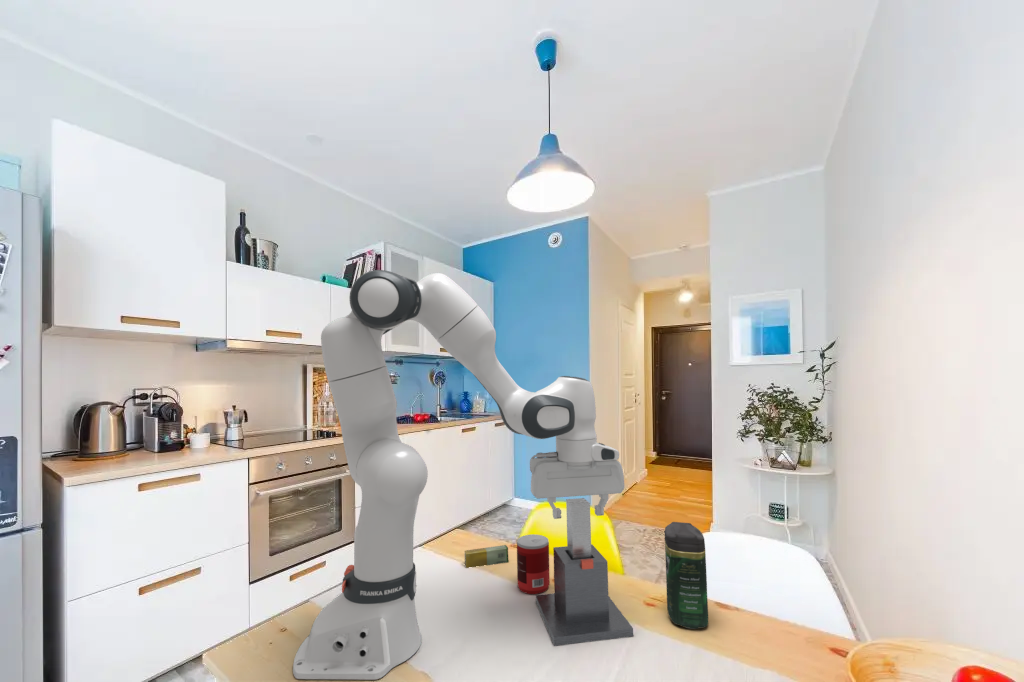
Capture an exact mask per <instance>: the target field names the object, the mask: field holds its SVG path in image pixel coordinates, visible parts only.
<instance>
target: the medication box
mask: <svg viewBox="0 0 1024 682" xmlns="http://www.w3.org/2000/svg"><path fill="white" fill-rule="evenodd" d="M509 562H510V561H509V547H508V545H506V544H503V545H495V546H489V547H482V548H473V549H466V550H464V564H465V565H464V567H465V566H466V567H465V568H466V569H470V568H469V567H472V568H477V567H476V566H479V567H485V566H484V565H486V566H493V564H494V565H500V564H507V563H509Z"/></svg>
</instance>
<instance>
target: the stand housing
mask: <svg viewBox="0 0 1024 682" xmlns="http://www.w3.org/2000/svg"><path fill="white" fill-rule="evenodd" d="M591 557H592V558H589V559H577V560H571V559H570V557H569V556H568V549H567V545H566V546H555V547H553V585H554V588H553V589H554V591H553V593H552V592H551V593H541V594H535V604H536V607H537V609H538V611H539V613H540V616H541V618H542V620H543V623H544V625H545V628H546V630H547V633H548V635H549V638H550V640H551V643H552V644H553V645H552V646H553V647H555V646H556V647H557V646H564V645H572V644H580V643H583V644H584V643H588V642H589V643H591V642H599V641H604V640H605V641H606V640H615V639H616V640H617V639H621V638H622V639H624V638H629V637H630V638H631V637H632V638H633V637H634V628H633V626H632V625H631V623H630V622H629V621H628V619H626V617H625V615H624V614H623V613H622V611H621V610H620V609H619V608H618V606H617V605H616V604H615V603H614V601H613V600H612V599H611V597H610V596H609V575H608V574H609V571H608V568H609V567H608V560H607V559H606V557H604V556H603V554H602V553H600V551H599V549H597V548H596V547H595V546H594V544H592V543H591Z"/></svg>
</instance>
